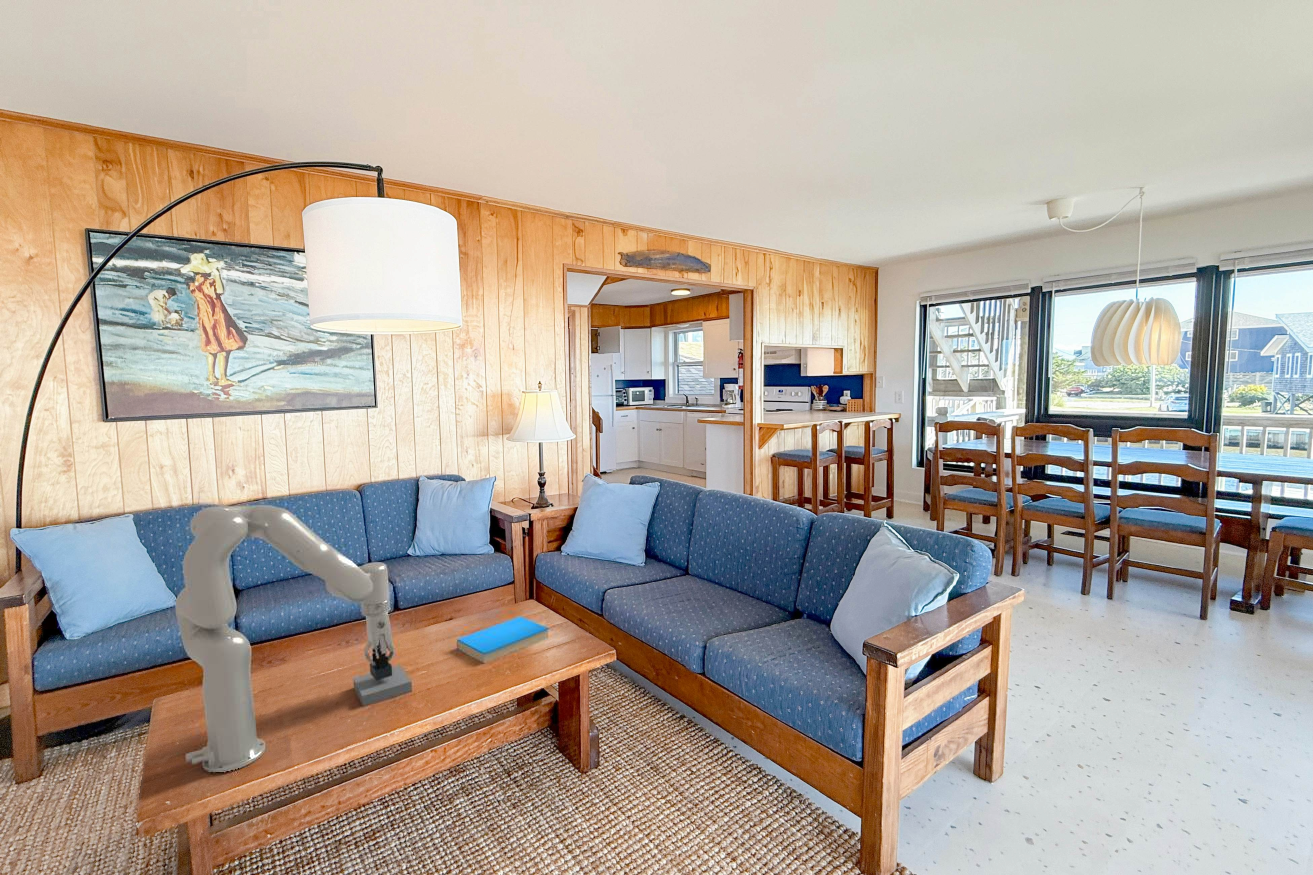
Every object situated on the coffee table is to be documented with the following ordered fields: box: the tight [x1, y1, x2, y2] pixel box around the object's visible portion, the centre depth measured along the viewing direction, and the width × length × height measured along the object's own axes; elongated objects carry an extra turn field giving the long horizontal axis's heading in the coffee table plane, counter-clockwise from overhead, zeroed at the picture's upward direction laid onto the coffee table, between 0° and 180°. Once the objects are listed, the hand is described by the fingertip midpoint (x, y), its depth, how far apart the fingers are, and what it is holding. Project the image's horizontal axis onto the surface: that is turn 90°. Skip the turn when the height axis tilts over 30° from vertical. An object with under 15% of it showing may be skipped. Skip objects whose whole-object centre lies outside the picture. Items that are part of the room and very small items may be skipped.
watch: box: [364, 640, 396, 681], centre depth 179 cm, size 6×8×11 cm
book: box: [456, 615, 549, 664], centre depth 209 cm, size 17×4×25 cm
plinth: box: [352, 664, 413, 707], centre depth 180 cm, size 13×13×3 cm
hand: (380, 667), depth 180 cm, fingers closed on watch, 3 cm apart
